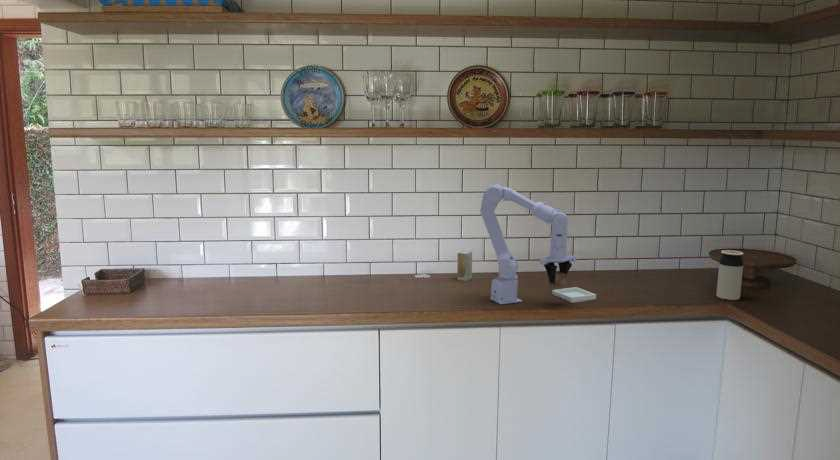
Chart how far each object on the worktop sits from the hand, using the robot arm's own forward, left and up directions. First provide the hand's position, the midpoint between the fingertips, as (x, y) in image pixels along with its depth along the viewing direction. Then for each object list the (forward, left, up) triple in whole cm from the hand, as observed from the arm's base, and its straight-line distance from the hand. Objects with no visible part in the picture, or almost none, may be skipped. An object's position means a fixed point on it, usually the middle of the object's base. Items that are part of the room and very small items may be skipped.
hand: (556, 282), depth 202 cm
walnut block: (0, 0, -2) cm, 2 cm away
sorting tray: (+12, +5, -8) cm, 15 cm away
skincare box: (-14, +46, -9) cm, 49 cm away
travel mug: (+67, -18, -9) cm, 70 cm away
